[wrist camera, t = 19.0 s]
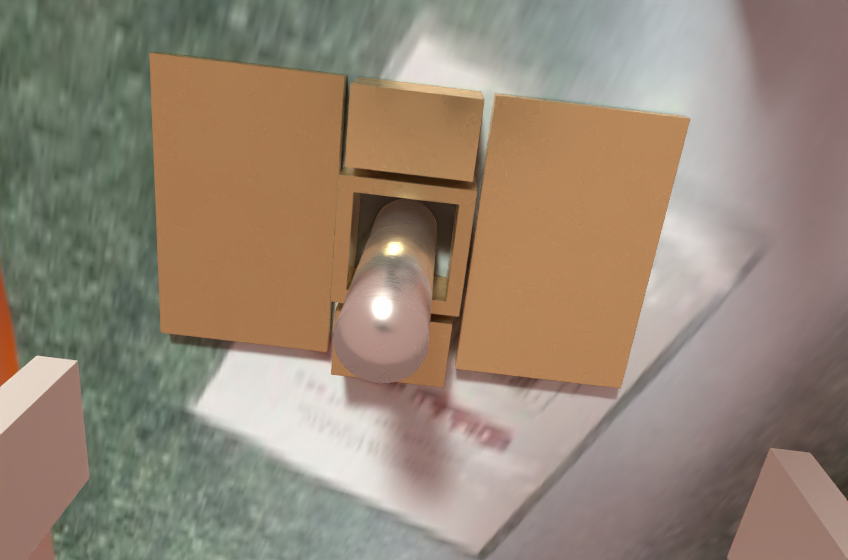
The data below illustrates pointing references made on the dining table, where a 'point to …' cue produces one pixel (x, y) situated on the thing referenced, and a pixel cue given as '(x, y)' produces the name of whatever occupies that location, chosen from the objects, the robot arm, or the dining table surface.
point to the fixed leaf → (273, 208)
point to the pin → (390, 296)
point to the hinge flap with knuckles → (536, 217)
